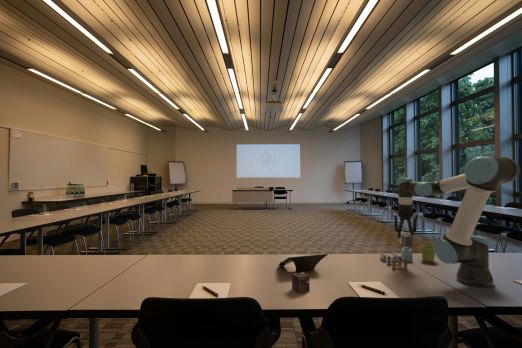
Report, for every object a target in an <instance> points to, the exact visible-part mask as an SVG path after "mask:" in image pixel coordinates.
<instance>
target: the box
mask: <svg viewBox="0 0 522 348" xmlns="http://www.w3.org/2000/svg"><path fill="white" fill-rule="evenodd" d="M291 289H292V290H293V291H294V292H296V293H297V294H304V293H309V292H310V275H308V274H307V273H306V272H301V273H296V272H294V273H292V274H291Z"/></svg>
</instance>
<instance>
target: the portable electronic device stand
mask: <svg viewBox="0 0 522 348" xmlns="http://www.w3.org/2000/svg"><path fill="white" fill-rule="evenodd" d="M328 255H329V253H324V254H323V253H322V254H310V255H300V256H299V255H298V256H290V257H287V258H285V259H284V260H283V261H280V262H279V264H278V267H279V268H283V267H285V266H286V265H289V264H290V263H293V264H294V267H295V273H311V272H310V271H312V272H313V271H314V270H315V268H316V266H317V265H318V264H319V263H320V262H321V261H322V260H323V259H324V258H326V257H327V256H328Z"/></svg>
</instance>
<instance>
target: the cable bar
mask: <svg viewBox="0 0 522 348" xmlns="http://www.w3.org/2000/svg"><path fill="white" fill-rule="evenodd" d="M401 233H402V244H401V246H402V247H403V248H404V247H408V248H413V238H412V236H410V235H409V234H408V232H405V231H401ZM397 243H399V238H398V237H397Z"/></svg>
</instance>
